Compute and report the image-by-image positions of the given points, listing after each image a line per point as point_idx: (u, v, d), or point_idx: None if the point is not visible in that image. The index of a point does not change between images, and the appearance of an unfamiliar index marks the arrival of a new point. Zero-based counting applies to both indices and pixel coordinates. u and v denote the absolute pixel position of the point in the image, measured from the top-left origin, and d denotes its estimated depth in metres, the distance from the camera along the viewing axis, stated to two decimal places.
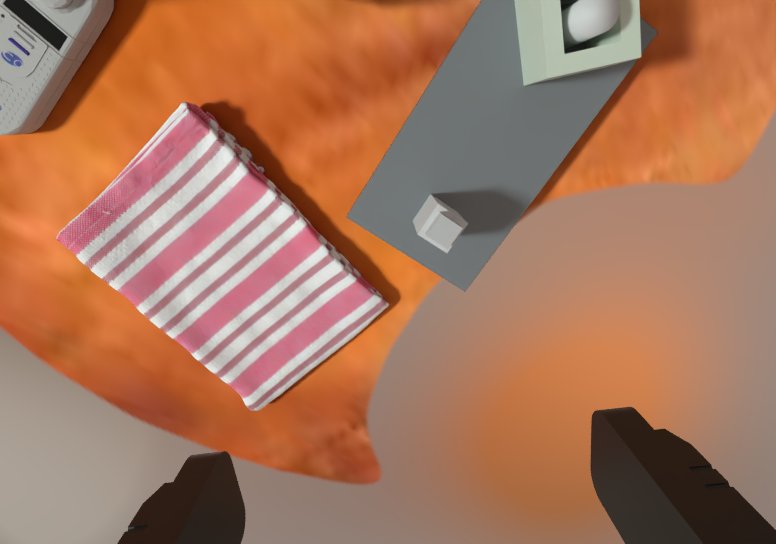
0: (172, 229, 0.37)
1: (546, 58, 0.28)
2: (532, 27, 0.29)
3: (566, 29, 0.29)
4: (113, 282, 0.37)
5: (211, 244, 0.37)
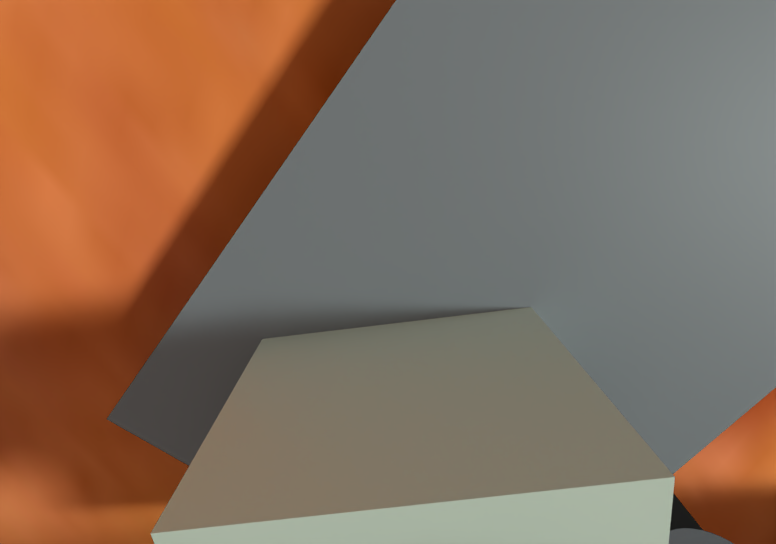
0: None
1: None
2: None
3: None
4: None
5: None
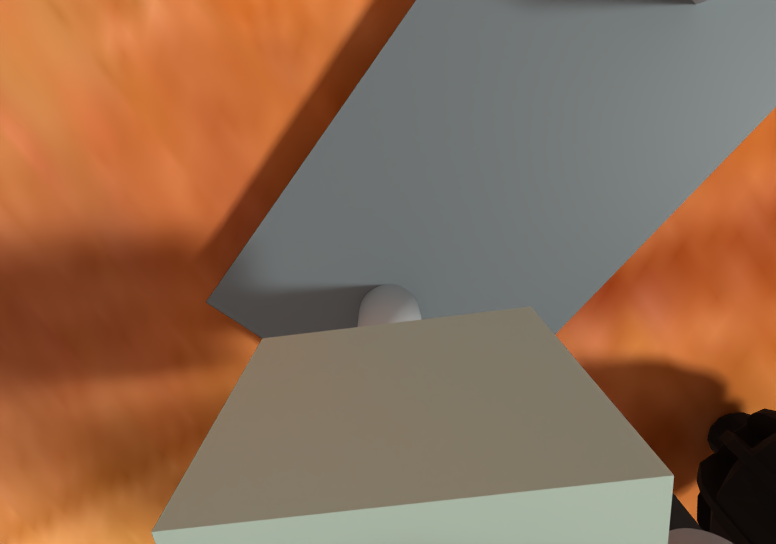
0: None
1: None
2: None
3: None
4: None
5: None
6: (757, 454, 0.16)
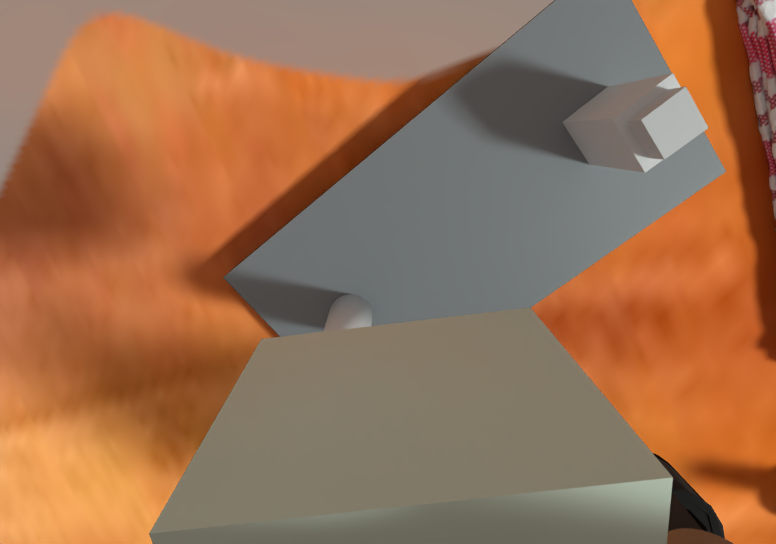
0: None
1: None
2: None
3: None
4: None
5: None
6: None
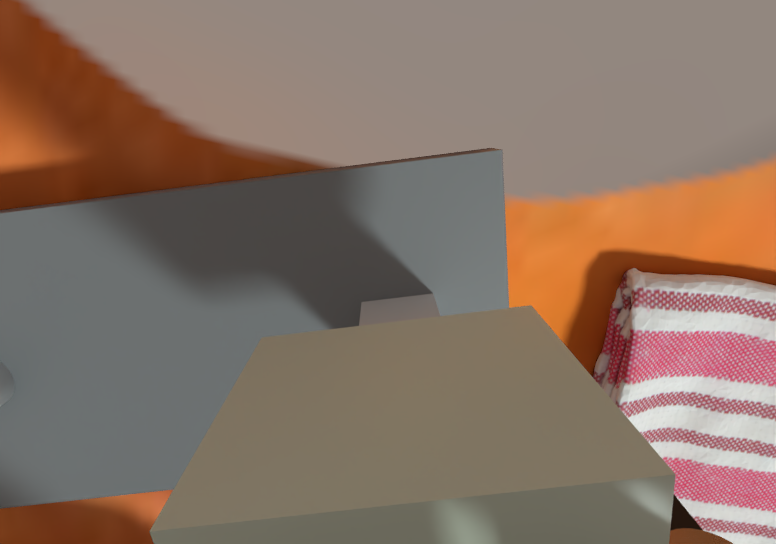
0: None
1: None
2: None
3: None
4: None
5: None
6: None
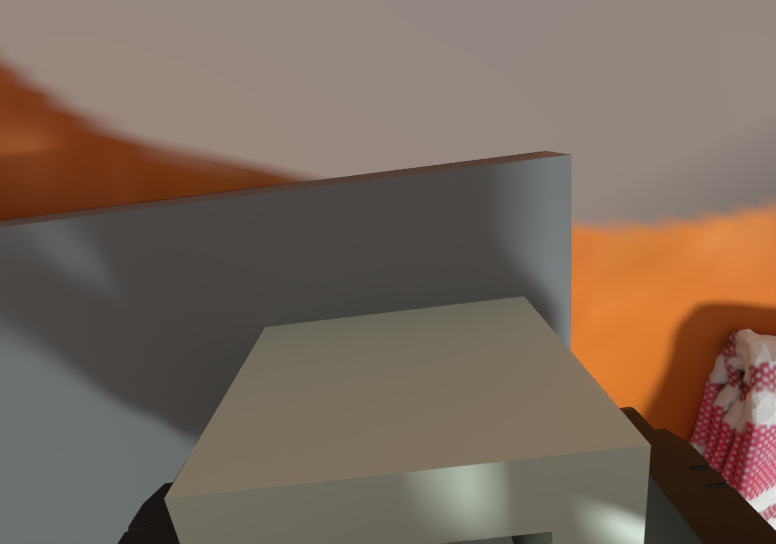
0: None
1: (629, 513, 0.06)
2: None
3: None
4: None
5: None
6: None
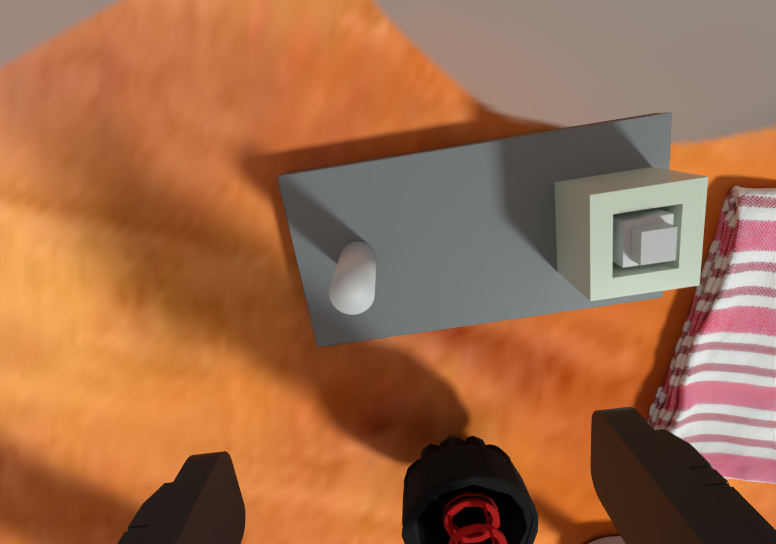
0: (772, 419, 0.34)
1: (702, 199, 0.23)
2: None
3: None
4: None
5: (768, 385, 0.33)
6: (458, 446, 0.30)
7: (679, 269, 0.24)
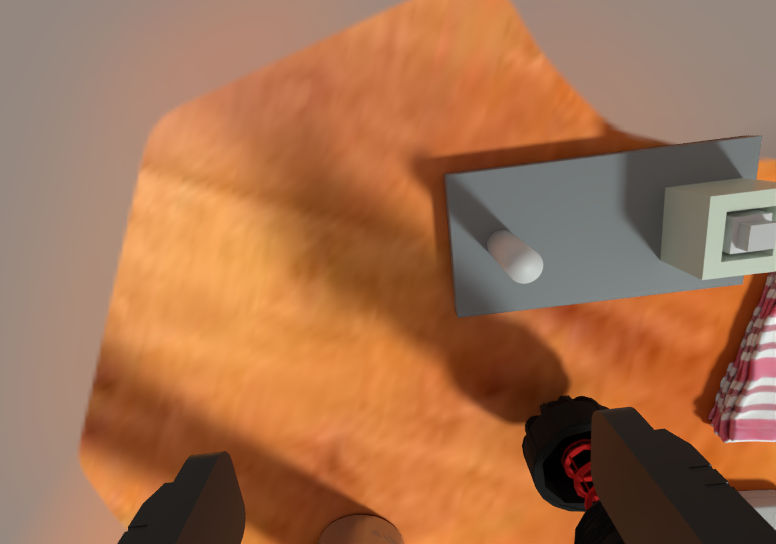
0: None
1: None
2: None
3: None
4: None
5: None
6: (575, 401, 0.37)
7: (772, 257, 0.31)
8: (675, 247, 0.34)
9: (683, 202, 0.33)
